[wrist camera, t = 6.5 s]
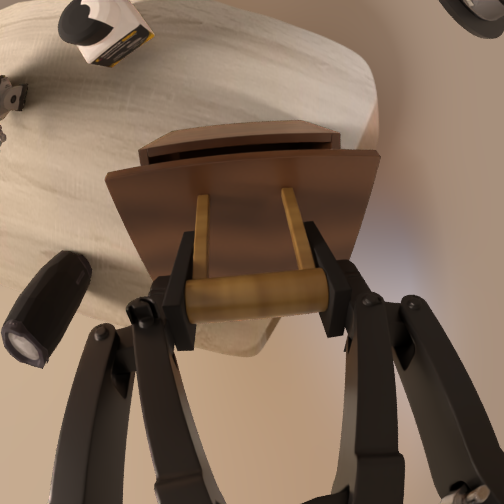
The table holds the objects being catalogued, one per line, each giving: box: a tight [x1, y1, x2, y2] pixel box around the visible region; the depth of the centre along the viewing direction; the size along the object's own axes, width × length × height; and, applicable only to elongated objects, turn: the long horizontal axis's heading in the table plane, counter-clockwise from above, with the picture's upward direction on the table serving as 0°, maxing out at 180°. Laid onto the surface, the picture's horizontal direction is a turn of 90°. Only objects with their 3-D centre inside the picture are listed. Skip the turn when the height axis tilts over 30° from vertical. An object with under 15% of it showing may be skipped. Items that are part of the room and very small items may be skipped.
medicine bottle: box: [58, 0, 154, 67], centre depth 20 cm, size 7×7×12 cm
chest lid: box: [105, 149, 381, 324], centre depth 20 cm, size 18×17×9 cm
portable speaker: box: [1, 250, 92, 369], centre depth 34 cm, size 9×9×20 cm
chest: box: [138, 120, 340, 166], centre depth 32 cm, size 18×17×14 cm
